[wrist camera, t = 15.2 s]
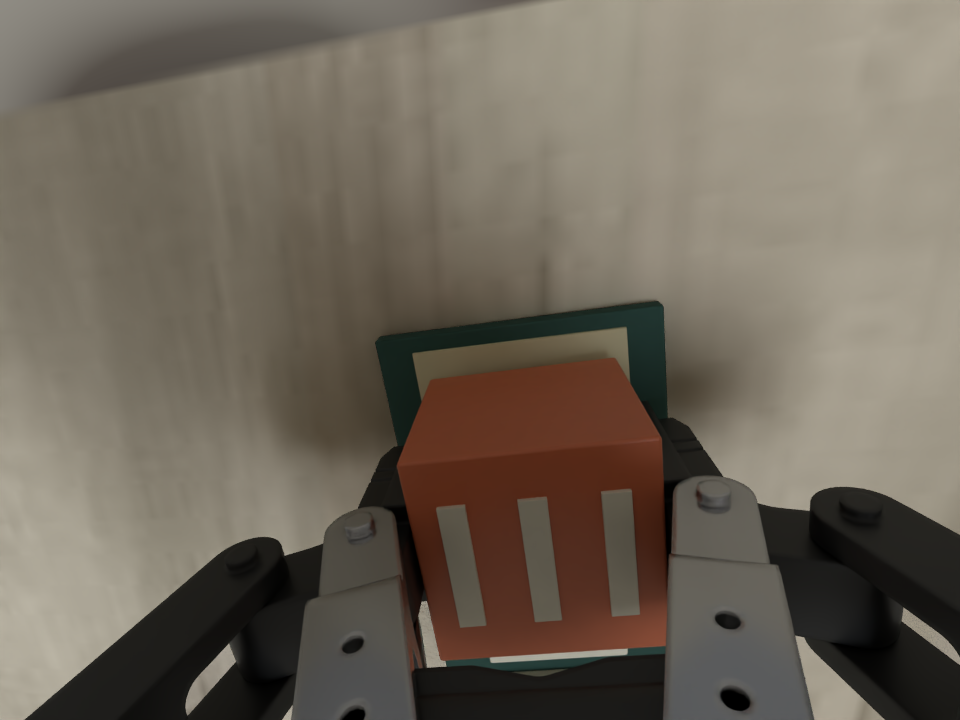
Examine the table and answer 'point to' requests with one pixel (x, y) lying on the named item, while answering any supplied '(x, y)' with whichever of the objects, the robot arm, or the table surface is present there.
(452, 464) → the red striped block
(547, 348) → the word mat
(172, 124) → the table surface
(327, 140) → the table surface
